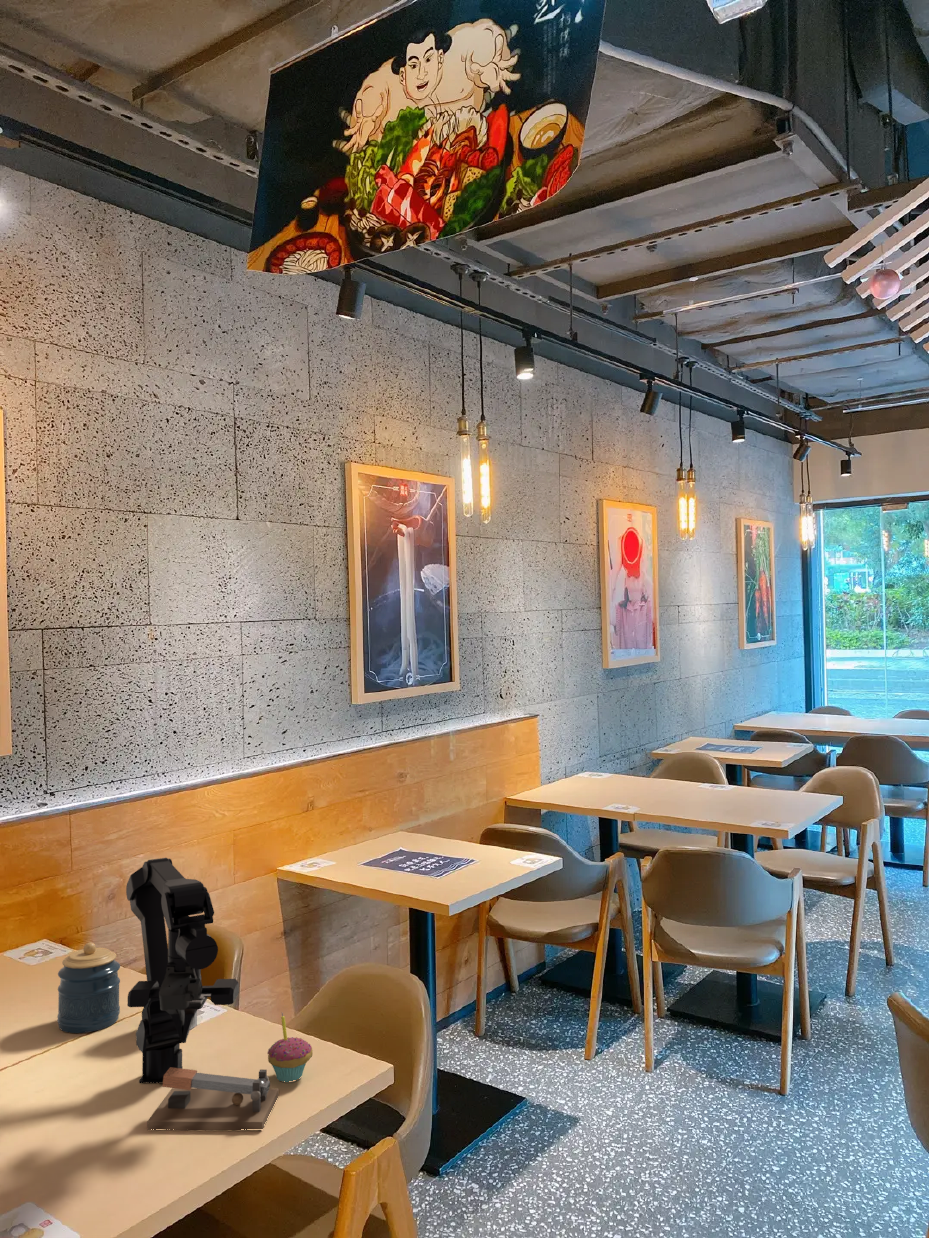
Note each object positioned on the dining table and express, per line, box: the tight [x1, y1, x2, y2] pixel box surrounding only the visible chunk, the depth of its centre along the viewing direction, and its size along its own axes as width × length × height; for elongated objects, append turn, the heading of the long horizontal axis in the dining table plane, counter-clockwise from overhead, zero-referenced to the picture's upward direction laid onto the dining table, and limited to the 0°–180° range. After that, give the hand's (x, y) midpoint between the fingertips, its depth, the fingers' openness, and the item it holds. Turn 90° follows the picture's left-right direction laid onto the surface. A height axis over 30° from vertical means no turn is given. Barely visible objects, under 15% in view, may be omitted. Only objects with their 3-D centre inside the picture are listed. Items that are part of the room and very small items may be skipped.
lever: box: [161, 1067, 271, 1097], centre depth 161 cm, size 18×3×2 cm, turn 88°
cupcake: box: [267, 1011, 314, 1083], centre depth 175 cm, size 9×8×12 cm
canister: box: [56, 941, 121, 1034], centre depth 202 cm, size 13×13×18 cm
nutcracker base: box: [146, 1069, 280, 1132], centre depth 161 cm, size 20×12×6 cm, turn 88°
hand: (183, 1040), depth 163 cm, fingers closed
